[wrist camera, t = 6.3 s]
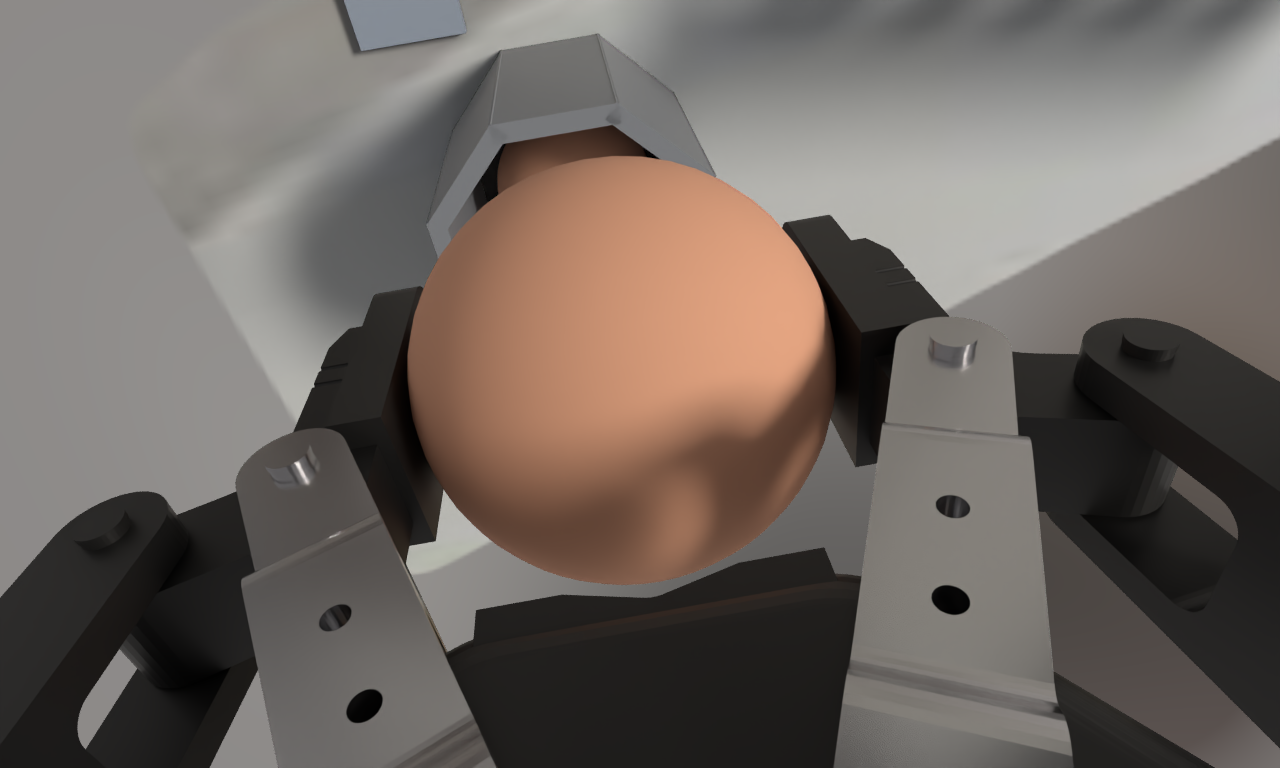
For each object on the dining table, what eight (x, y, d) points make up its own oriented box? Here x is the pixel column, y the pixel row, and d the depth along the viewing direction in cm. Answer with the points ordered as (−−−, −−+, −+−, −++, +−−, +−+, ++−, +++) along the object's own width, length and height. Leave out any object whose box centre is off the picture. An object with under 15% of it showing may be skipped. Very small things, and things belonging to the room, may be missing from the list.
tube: (431, 62, 29) (396, 140, 22) (666, 21, 29) (709, 85, 22) (492, 270, 34) (480, 387, 27) (689, 236, 35) (729, 344, 27)
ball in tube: (483, 97, 30) (474, 149, 25) (631, 71, 30) (649, 118, 25) (518, 232, 34) (515, 300, 29) (650, 209, 34) (668, 274, 29)
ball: (384, 138, 11) (270, 347, 7) (767, 71, 12) (933, 229, 7) (485, 434, 15) (460, 712, 10) (778, 381, 15) (892, 633, 10)
